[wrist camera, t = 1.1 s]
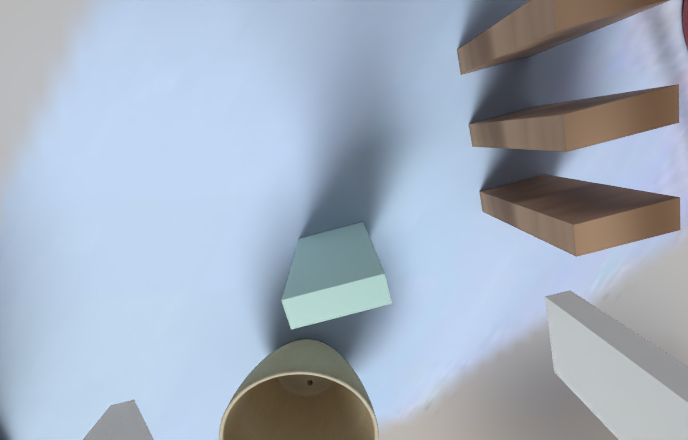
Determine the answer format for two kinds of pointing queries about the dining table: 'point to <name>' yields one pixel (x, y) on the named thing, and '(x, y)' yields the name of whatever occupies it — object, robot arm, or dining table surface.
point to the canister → (685, 20)
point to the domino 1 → (334, 277)
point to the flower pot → (300, 398)
